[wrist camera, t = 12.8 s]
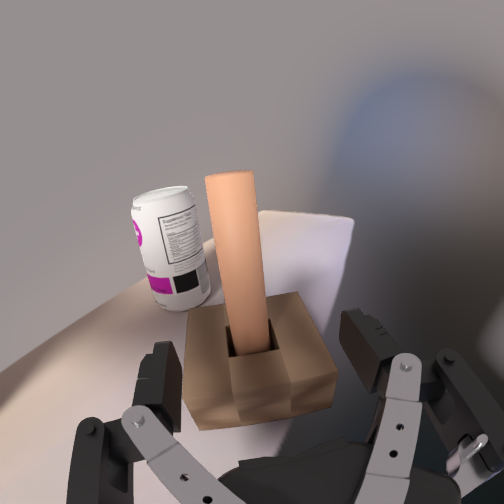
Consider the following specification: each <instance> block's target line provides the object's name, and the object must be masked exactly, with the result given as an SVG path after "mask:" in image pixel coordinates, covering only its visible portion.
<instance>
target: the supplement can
mask: <svg viewBox="0 0 504 504" xmlns="http://www.w3.org/2000/svg"><path fill="white" fill-rule="evenodd" d="M133 200H134V202H133V206H132V210H131V214H132V219H133V223H134V227H135V231H136V235H137V239H138V243H139V247H140V251H141V254H142V258H143V261H144V265H145V269H146V272H147V275H148V279H149V282H150V285H151V289H152V292H153V295H154V298H155V301H156V304H158V305H159V306H160V307H161V308H165V309H166V310H170V311H185V310H189V309H190V308H194V307H196V306H198V305H200V304H201V303H202V302H204V301H205V299H206V298H207V297H208V295H209V294H210V292H211V285H210V280H209V275H208V270H207V265H206V259H205V254H204V249H203V243H202V238H201V232H200V227H199V221H198V215H197V209H196V203H195V198H194V197H193V195H192V194H191V193H190V191H189V190H188V187H186V186H174V187H167V188H162V189H157V190H153V191H150V192H147V193H144V194H141V195H139V196H137V197H135V198H134V199H133Z"/></svg>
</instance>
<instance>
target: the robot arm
mask: <svg viewBox="0 0 504 504" xmlns="http://www.w3.org/2000/svg"><path fill="white" fill-rule="evenodd" d="M339 340H340V344H341V346H342V348H343V350H344V351H345V353H346V355H347V356H348V358H349V360H350V361H351V363H352V365H353V366H354V368H355V370H356V372H357V374H358V375H359V377H360V379H361V381H362V382H363V384H364V386H365V388H366V389H367V391H368V393H369V394H372V393H375V392H378V393H379V395H380V396H379V398H378V402H377V406H376V410H375V413H374V417H373V421H372V424H371V427H370V430H369V433H368V436H367V438H366V441H365V443H362V442H346V440H345V437H341V438H338V439H335V440H332V441H329V442H326V443H322V444H319V445H317V446H315V447H313V448H311V449H310V450H308V451H306V452H304V453H301V454H299V455H297V456H295V457H261V458H255V459H248V460H241V461H238V462H239V467H237V468H234V469H232V470H230V471H228V472H226V473H225V474H223V475H222V476H221V477H219V478H218V479H216V478H215V477H214V476H213V475H212V474H210V473H209V472H208V471H207V470H206V469H205V468H204V467H203V466H202V465H201V464H200V463H199V462H198V461H197V460H196V459H195V458H194V457H193V456H192V455H191V454H190V453H189V452H188V451H187V450H186V449H185V448H184V447H183V446H182V445H181V444H180V443H179V442H177V441H176V440H175V438H174V437H173V433H174V432H181V398H182V367H181V363H180V361H179V358H178V356H177V353H176V351H175V348H174V346H173V343H172V342H171V341H165V342H156V343H155V344H154V349H153V354H146V356H145V357H144V358H143V360H142V361H141V363H140V368H139V373H138V377H137V379H138V380H137V382H136V387H135V392H134V398H133V403H132V407H130V408H129V409H127V410H126V411H125V412H124V414H123V415H122V418H120V419H117V420H114V421H110V422H106V423H103V422H102V421H101V420H100V419H98V418H95V417H89V418H86V419H84V420H82V421H81V422H80V423H79V425H78V427H77V431H76V436H75V441H74V446H73V452H72V458H71V465H70V472H69V480H68V490H67V502H66V504H134V498H133V462H137V461H141V460H145V459H146V461H147V464H148V466H149V467H150V468H151V470H152V471H153V472H154V473H155V475H156V476H157V477H158V478H159V480H160V481H161V482H162V483H163V484H164V485H165V487H166V488H167V489H168V490H169V491H170V492H171V493H172V495H173V496H174V497H175V498H176V499H177V500H178V501H179V502H180V503H181V504H461V498H462V497H464V496H465V495H466V494H468V493H469V492H471V491H472V490H473V489H474V488H476V487H478V486H480V485H481V484H482V483H484V482H486V481H487V480H489V479H490V478H491V477H493V476H494V475H496V474H497V473H498V472H500V471H501V470H503V469H504V412H503V411H502V409H501V408H500V406H499V405H498V404H497V402H496V401H495V399H494V398H493V396H492V395H491V394H490V392H489V391H488V390H487V388H486V387H485V386H484V384H483V383H482V382H481V380H480V379H479V378H478V376H477V375H476V374H475V372H474V371H473V370H472V369H471V367H470V366H469V365H468V363H467V362H466V361H465V360H464V359H463V357H462V356H461V355H460V354H459V353H458V352H457V351H456V350H454V349H451V348H444V349H441V350H440V351H439V352H438V353H437V355H436V358H431V359H423V360H419V358H417V357H416V356H415V355H413V354H409V353H404V352H403V351H402V350H401V349H400V347H399V346H398V345H397V344H396V342H395V341H394V340H393V339H392V337H391V336H390V335H389V334H388V333H387V331H386V330H385V329H384V328H383V326H382V325H381V324H380V322H379V321H378V320H377V319H375V318H373V317H372V316H370V315H366V316H365V315H364V314H363V313H362V312H361V311H360V309H359V308H352V309H348V310H345V311H342V314H341V323H340V332H339ZM447 390H448V391H447ZM449 393H450V394H449ZM451 396H452V397H451ZM452 398H453V399H454V400H453V399H452ZM454 401H455V402H454ZM422 406H423V407H424V409H425V411H426V412H427V414H428V416H429V418H430V420H431V421H432V423H433V425H434V427H435V429H436V430H437V432H438V434H439V436H440V438H441V440H442V442H443V443H444V445H445V447H446V449H447V451H448V453H449V455H448V457H447V462H446V463H447V466H446V470H447V471H448V475H445V474H443V473H440V472H437V471H434V470H431V469H428V468H426V467H423V466H420V465H417V464H415V463H413V462H412V461H413V457H414V452H415V447H416V442H417V437H418V431H419V425H420V418H421V410H422Z"/></svg>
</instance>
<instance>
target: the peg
mask: <svg viewBox="0 0 504 504" xmlns="http://www.w3.org/2000/svg"><path fill="white" fill-rule="evenodd" d="M205 183H206V190H207V197H208V203H209V210H210V216H211V223H212V229H213V235H214V241H215V247H216V253H217V259H218V265H219V270H220V276H221V281H222V287H223V292H224V298H225V303H226V308H227V314H228V319H229V324H230V329H231V334H232V339H233V344H234V349H235V354H236V357H237V356H244V355H250V354H256V353H262V352H267V351H271V350H270V338H269V327H268V316H267V305H266V294H265V284H264V273H263V263H262V252H261V242H260V232H259V222H258V212H257V202H256V192H255V183H254V173H253V171H251V170H237V171H228V172H221V173H216V174H212V175H209V176H206V177H205Z"/></svg>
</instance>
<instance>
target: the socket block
mask: <svg viewBox="0 0 504 504" xmlns="http://www.w3.org/2000/svg"><path fill="white" fill-rule="evenodd" d="M266 305H267V316H268V327H269V338H270V350H271V351H267V352H262V353H256V354H250V355H244V356H237V357H236V354H235V349H234V344H233V339H232V334H231V329H230V324H229V319H228V314H227V308H226V303H225V304H219V305H212V306H205V307H198V308H190V309H189V310H188V321H187V332H186V344H185V358H184V374H183V393H182V399H183V400H184V402H185V404H186V406H187V408H188V410H189V412H190V414H191V416H192V418H193V419H194V421H195V423H196V425H197V427H198V428H199V430H212V429H222V428H231V427H239V426H246V425H253V424H259V423H265V422H270V421H276V420H281V419H285V418H290V417H295V416H299V415H303V414H307V413H311V412H315V411H318V410H322V409H326V408H330V407H331V406H332V401H333V397H334V392H335V387H336V381H337V377H338V371H339V370H338V369H337V367H336V365H335V363H334V361H333V359H332V357H331V355H330V353H329V351H328V349H327V347H326V345H325V343H324V341H323V339H322V337H321V335H320V334H319V332H318V330H317V328H316V326H315V324H314V322H313V320H312V318H311V316H310V314H309V313H308V311H307V309H306V307H305V305H304V303H303V301H302V299H301V297H300V296H299V294H298V292H292V293H286V294H281V295H275V296H269V297H266Z"/></svg>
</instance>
